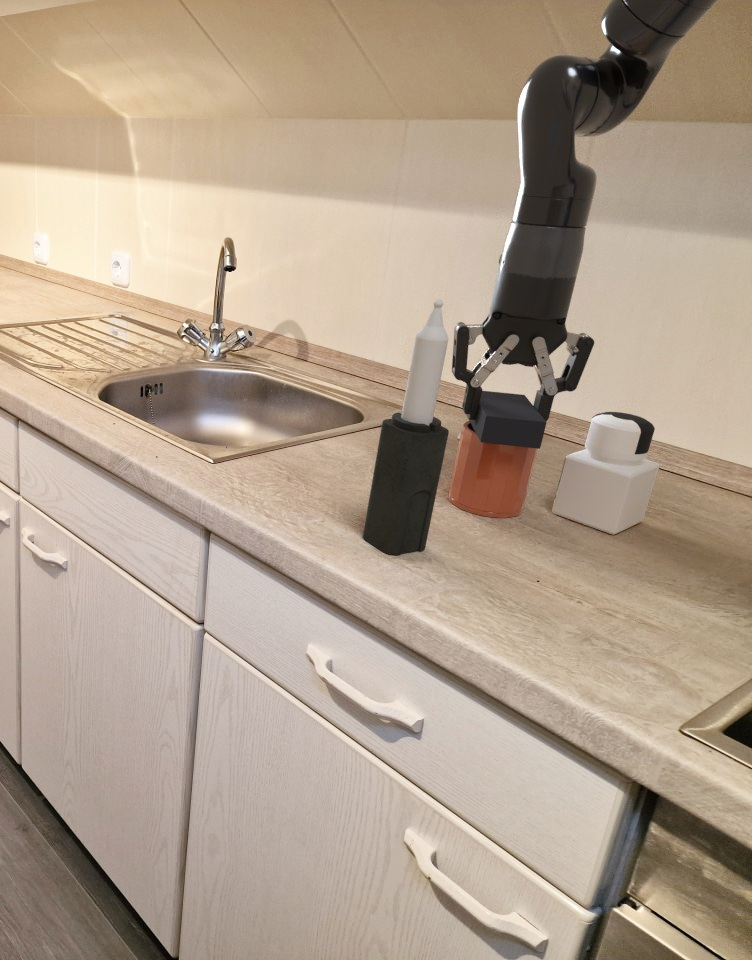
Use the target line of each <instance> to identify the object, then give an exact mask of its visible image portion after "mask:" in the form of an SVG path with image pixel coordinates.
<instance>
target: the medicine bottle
mask: <svg viewBox="0 0 752 960" xmlns="http://www.w3.org/2000/svg"><path fill="white" fill-rule="evenodd" d="M655 430H656V429H655V425H654V424H653V423H652V422H650V421H649V420H647V419H646V418H644V417H642V416H639V415H636V414H635V415H634V414H632V413H626V412H619V411H604V412H599V413H596V414H594V415H593V416H592V417H591V419H590V423H589V427H588V431H587V435H586V439H585V442H584V448H585V449H581V450H578V451H575V452H573V453H570V454H567V455H566V456H565V458H564V462H563V465H562V469H561V473H560V477H559V480H558V485H557V488H556V492H555V496H554V499H553V504H552V508H551V513H552V514H554V515H556V516H558V517H559V516H560V517H562V518H565V519H568V520H571V521H574V522H576V523H579V524H581V525H585V526H587V527H590V528H593V529H595V530H598V531H601V532H604V533H607V534H610V535H611V536H612V535H613V536H615V535H617V534H618V533H621V532H623V531H625V530H627V529H629V528H631V527H633V526H635V525H637V524H640V523H641V522H643V521H644V519H645V516H646V513H647V510H648V505H649V502H650V499H651V496H652V493H653V490H654V486H655V483H656V480H657V476H658V473H659V470H660V463H658V462H656V461H653V460H649V459H647V458H648V457H647V456H648V454H649V450H650V447H651V443H652V441H653V436H654V434H655Z"/></svg>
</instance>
